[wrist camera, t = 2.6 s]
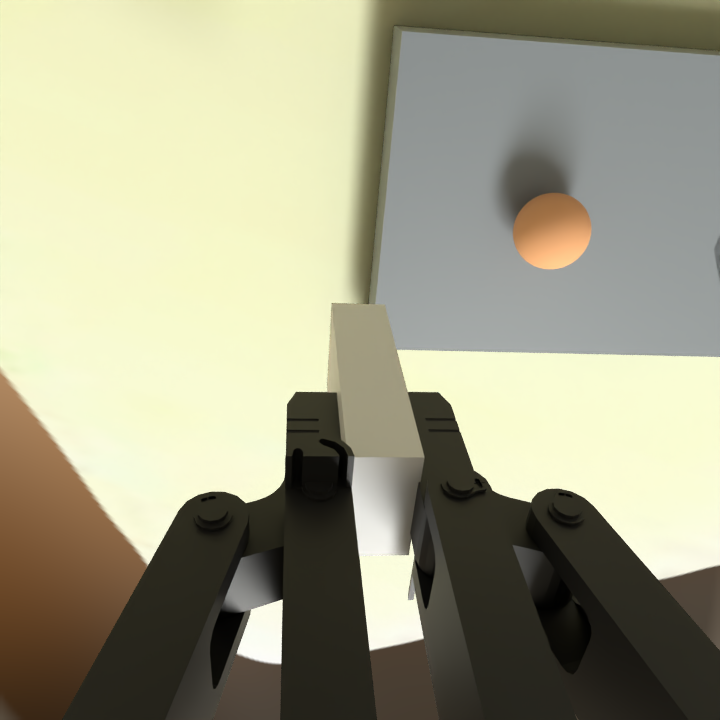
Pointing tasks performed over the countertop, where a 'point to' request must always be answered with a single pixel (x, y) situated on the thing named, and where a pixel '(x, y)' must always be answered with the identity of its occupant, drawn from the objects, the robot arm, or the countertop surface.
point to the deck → (549, 175)
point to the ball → (552, 231)
